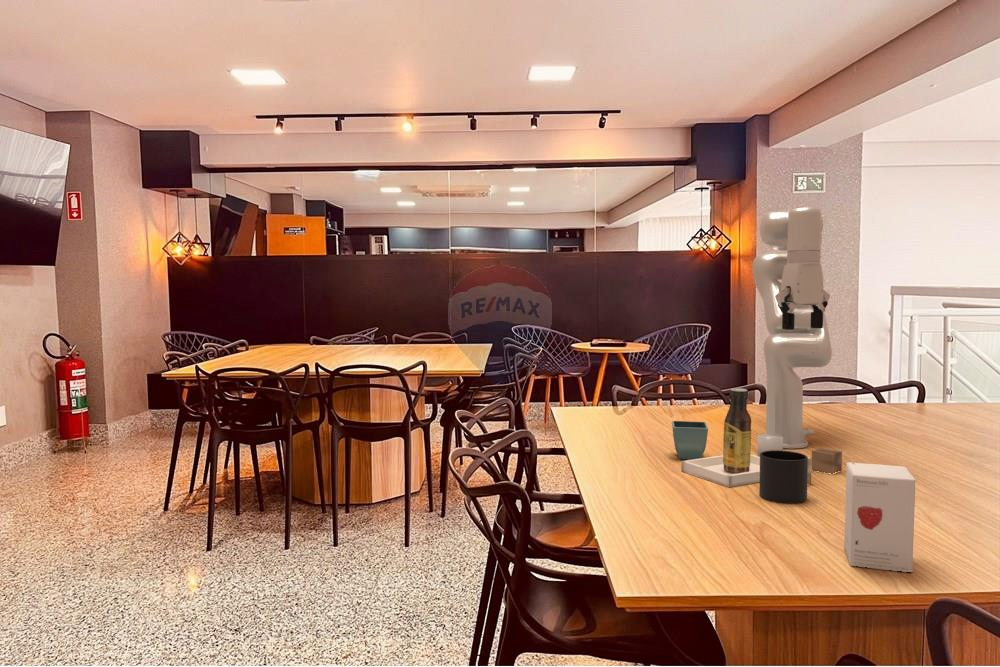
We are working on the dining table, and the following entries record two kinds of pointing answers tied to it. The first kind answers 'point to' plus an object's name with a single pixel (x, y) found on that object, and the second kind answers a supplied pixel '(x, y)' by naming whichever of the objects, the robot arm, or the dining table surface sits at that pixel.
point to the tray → (722, 471)
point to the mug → (783, 476)
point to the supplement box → (879, 516)
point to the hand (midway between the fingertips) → (802, 328)
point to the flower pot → (690, 438)
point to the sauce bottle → (737, 433)
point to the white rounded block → (769, 443)
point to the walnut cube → (826, 460)
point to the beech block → (809, 470)
